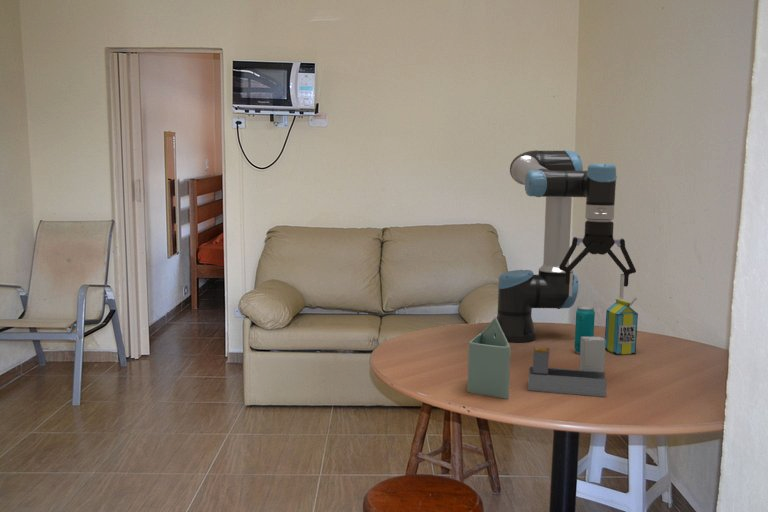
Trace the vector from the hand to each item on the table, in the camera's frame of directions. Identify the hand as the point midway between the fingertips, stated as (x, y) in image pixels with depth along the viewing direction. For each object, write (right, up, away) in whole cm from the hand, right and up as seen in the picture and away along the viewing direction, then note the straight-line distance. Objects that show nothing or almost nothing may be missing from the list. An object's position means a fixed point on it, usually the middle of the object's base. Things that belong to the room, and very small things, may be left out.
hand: (595, 296), depth 199 cm
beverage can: (+5, -20, +31) cm, 38 cm away
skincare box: (0, -24, +3) cm, 24 cm away
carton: (+18, -20, +34) cm, 43 cm away
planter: (-33, -25, -8) cm, 42 cm away
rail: (-10, -25, -6) cm, 27 cm away
